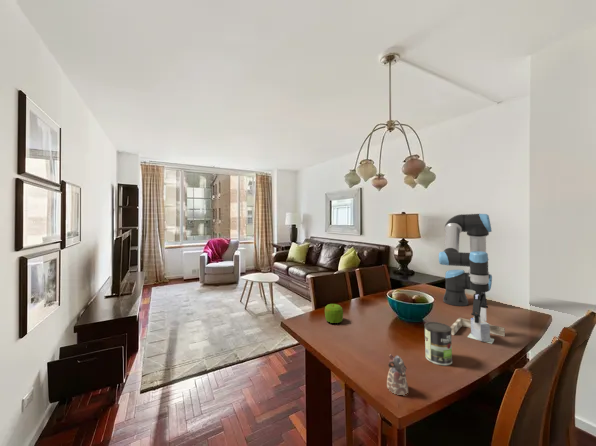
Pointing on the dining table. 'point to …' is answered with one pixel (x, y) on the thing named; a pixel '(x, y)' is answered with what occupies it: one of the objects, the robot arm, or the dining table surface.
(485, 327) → the medicine box
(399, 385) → the figurine
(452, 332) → the corner walls
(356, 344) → the dining table surface
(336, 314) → the apple
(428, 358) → the coffee can
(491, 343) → the pad
